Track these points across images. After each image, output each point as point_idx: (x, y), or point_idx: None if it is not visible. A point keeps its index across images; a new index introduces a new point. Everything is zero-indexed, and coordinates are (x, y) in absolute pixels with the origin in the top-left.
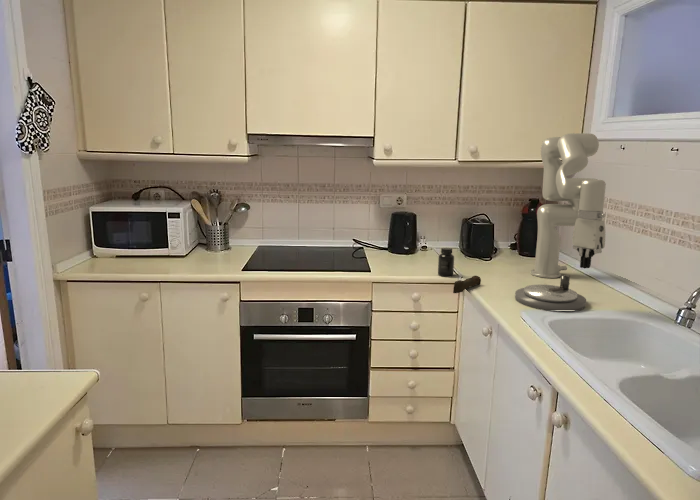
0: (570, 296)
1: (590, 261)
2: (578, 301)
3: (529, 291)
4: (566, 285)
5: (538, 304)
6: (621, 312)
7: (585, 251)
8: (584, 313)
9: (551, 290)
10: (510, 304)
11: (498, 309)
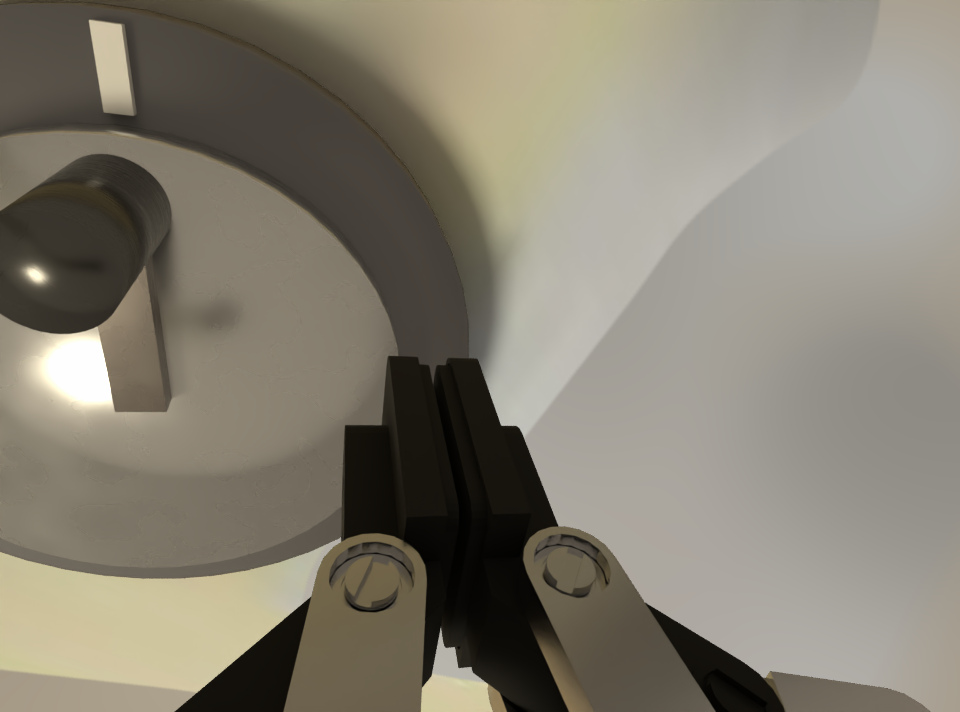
0: (370, 374)
1: (537, 490)
2: (405, 289)
3: (97, 546)
4: (153, 251)
5: (299, 550)
6: (688, 74)
7: (381, 688)
8: (517, 352)
9: (158, 405)
10: (147, 598)
11: (211, 677)
